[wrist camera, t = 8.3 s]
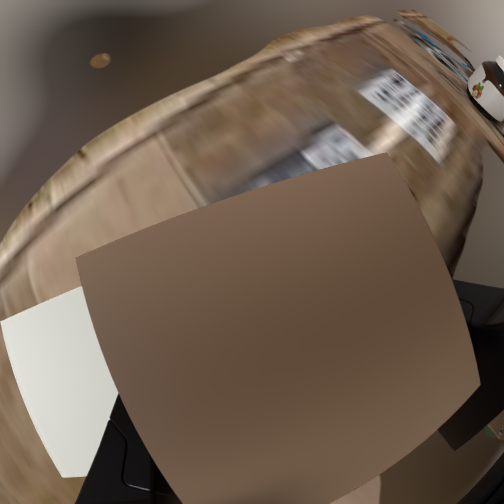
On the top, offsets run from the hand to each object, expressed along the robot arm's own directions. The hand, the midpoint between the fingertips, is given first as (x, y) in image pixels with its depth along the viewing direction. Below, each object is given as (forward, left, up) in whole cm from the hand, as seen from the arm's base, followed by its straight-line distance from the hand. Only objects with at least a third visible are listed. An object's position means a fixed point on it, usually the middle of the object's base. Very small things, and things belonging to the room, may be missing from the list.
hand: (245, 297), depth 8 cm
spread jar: (-22, -51, -11) cm, 57 cm away
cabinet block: (-1, +1, -4) cm, 4 cm away
